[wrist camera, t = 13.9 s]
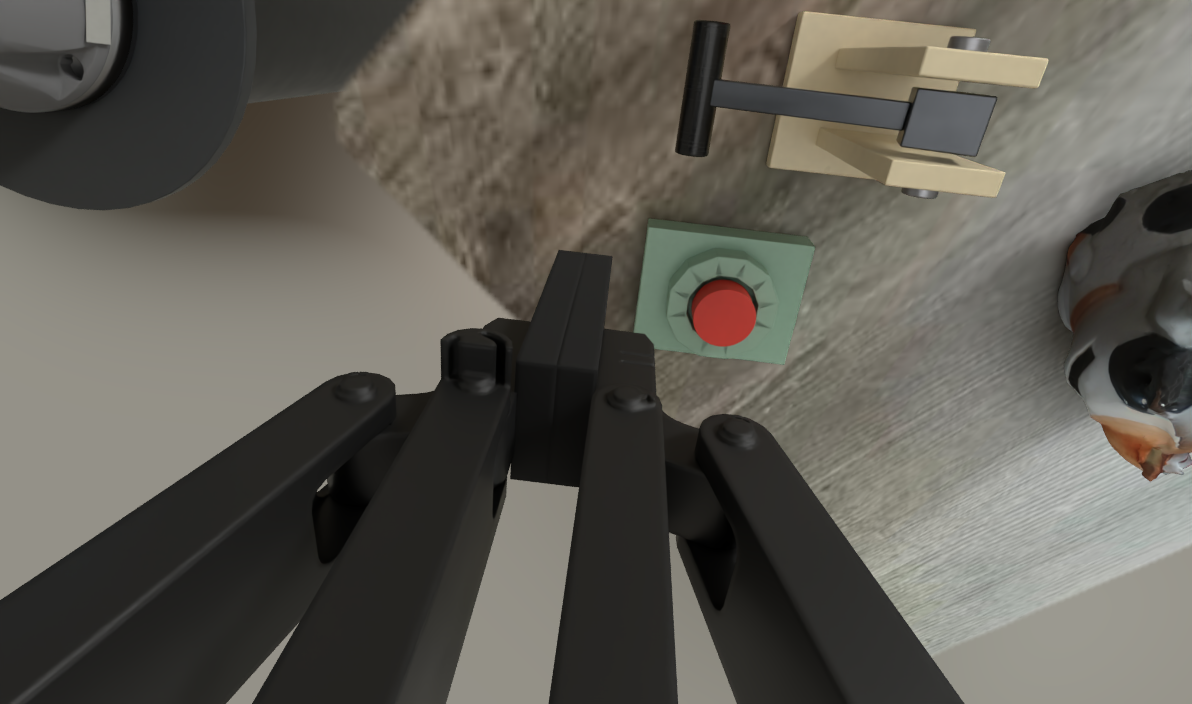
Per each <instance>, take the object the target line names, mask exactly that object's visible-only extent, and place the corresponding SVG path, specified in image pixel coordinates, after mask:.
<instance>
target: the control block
mask: <svg viewBox="0 0 1192 704" xmlns="http://www.w3.org/2000/svg"><path fill="white" fill-rule="evenodd" d="M814 250H815V246H814V244H813V243H812V242H811V241H810V240H809V238H808V237H805V236H797V235H788V234H779V233H771V232H762V231H754V230H745V229H736V228H728V227H719V226H711V225H702V224H693V223H685V222H676V221H667V220H659V219H650V218H649V219H648V226H647V233H646V240H645V248H644V255H643V262H642V270H641V277H640V285H639V292H638V299H637V307H636V314H635V321H634V329H633V332H634V333H642V334H645V335H646V336H647V337H648V338H649V339H650V340H651V342H652V343H653V344H654V349H660V350H668V351H676V352H684V353H693V354H697V355H699V356H705V357H713V358H721V359H728V358H733V359H741V360H749V361H757V362H766V363H774V364H782V365H784V364H785V360H786V356H787V352H788V348H789V345H790V341H791V337H792V333H793V330H794V326H795V322H796V318H797V315H798V311H799V307H800V303H801V299H802V296H803V292H804V288H805V284H806V281H807V277H808V273H809V269H810V266H811V262H812V258H813V254H814ZM716 280H731V281H734V282H737V283H739V284H740V285H742V286H743V287H744V288H745V289H746V290H747V292H748V293H749V295H750V297H751V300H752V302H753V305H754V307H755V311H756V322H755V326H754V328H753V330H752V331H751V333H750V334H749V335H748V336H747V337H746V338H745V339H744V340H743V341H741V342H739V343H737V344H735V345H732V346H725V347H721V346H714V345H711V344H709V343H707V342H705V341H704V340H703V339H701V338H700V336H699V335H698V334H697V332H696V330H695V328H694V324H693V318H692V309H691V308H692V302H693V299H694V297H695V295H696V293H697V292H698V291H699V290H700V289H701V288H702V287H703V286H704V285H706V284H708V283H710V282H712V281H716Z"/></svg>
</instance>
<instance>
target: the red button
mask: <svg viewBox="0 0 1192 704" xmlns="http://www.w3.org/2000/svg"><path fill="white" fill-rule="evenodd" d="M691 309H692V318H693V324H694V328H695V330H696V332H697V334H698V335H699V336H700V338H701V339H703V340H704V341H705V342H707V343H709V344H711V345H714V346H721V347H725V346H732V345H735V344H737V343H739V342H741V341H743V340H744V339H745V338H746V337H747V336H748V335H749V334H750V333H751V331H752V330H753V328H754V326H755V322H756V311H755V307H754V305H753V302H752V300H751V297H750V295H749V293H748V292H747V290H746V289H745V288H744V287H743V286H742V285H740V284H739V283H737V282H734V281H731V280H716V281H712V282H710V283H708V284H706V285H704V286H703V287H702V288H701V289H700V290H699V291H698V292H697V293H696V295H695V297H694V299H693V302H692V308H691Z"/></svg>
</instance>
